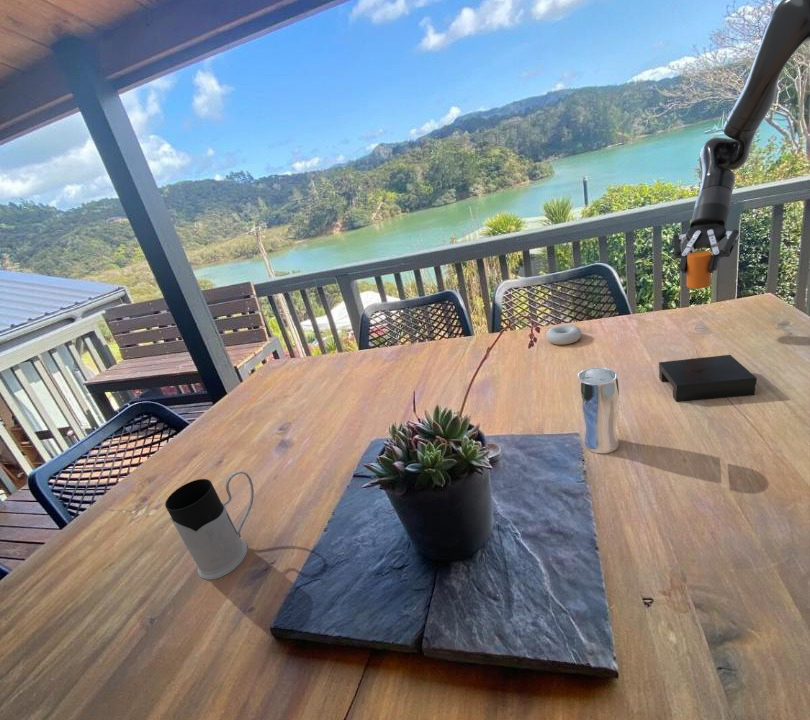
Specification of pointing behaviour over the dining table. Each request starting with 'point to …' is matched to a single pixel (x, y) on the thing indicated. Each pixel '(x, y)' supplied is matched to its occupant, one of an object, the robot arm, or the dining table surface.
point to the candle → (698, 269)
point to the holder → (208, 527)
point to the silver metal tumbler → (599, 408)
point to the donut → (563, 334)
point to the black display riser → (707, 378)
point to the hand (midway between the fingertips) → (697, 271)
